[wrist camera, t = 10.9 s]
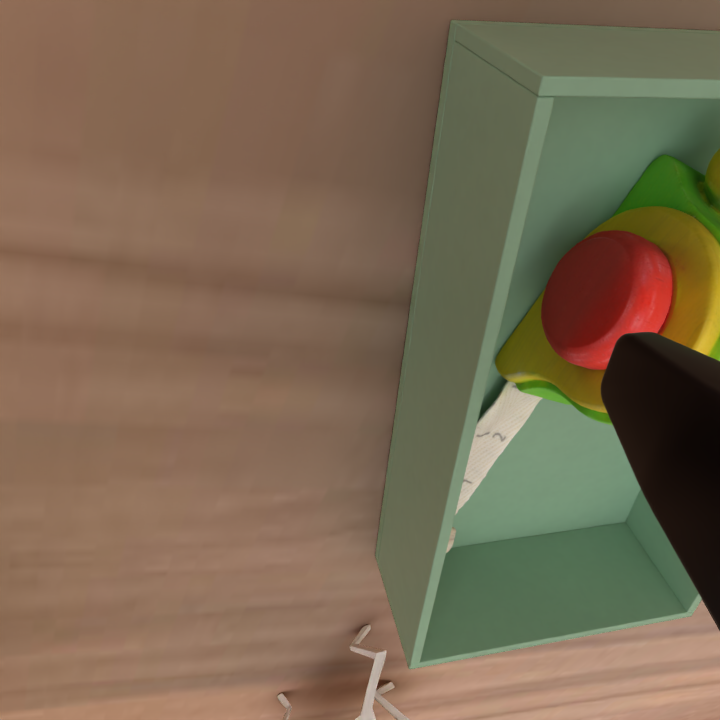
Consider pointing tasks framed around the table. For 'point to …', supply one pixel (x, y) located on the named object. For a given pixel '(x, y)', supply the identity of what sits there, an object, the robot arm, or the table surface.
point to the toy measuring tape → (611, 304)
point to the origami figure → (372, 693)
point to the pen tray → (500, 319)
